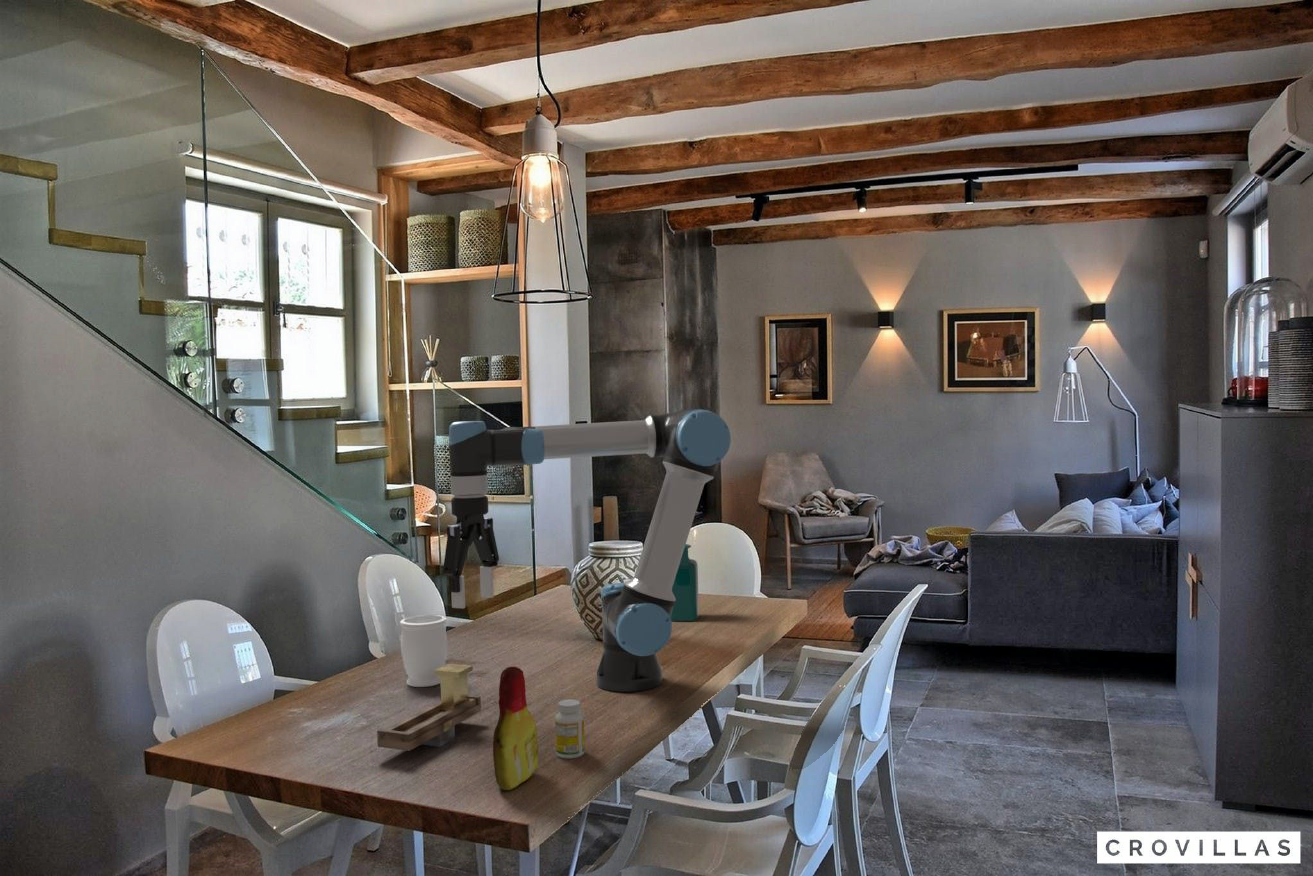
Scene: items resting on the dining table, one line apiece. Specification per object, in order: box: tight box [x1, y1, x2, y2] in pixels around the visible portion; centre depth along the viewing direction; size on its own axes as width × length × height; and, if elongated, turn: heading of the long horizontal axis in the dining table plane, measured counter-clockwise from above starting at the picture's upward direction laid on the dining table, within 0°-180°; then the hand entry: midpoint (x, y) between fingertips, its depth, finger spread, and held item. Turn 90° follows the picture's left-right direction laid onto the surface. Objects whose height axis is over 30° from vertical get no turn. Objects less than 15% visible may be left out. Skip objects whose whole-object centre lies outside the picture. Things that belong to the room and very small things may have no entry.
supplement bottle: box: [554, 698, 586, 759], centre depth 184 cm, size 5×5×10 cm
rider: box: [435, 663, 474, 711], centre depth 200 cm, size 5×6×8 cm
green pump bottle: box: [670, 543, 700, 622], centre depth 292 cm, size 10×8×22 cm
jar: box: [399, 614, 448, 688], centre depth 233 cm, size 11×10×15 cm
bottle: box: [492, 666, 539, 791], centre depth 171 cm, size 12×6×20 cm, turn 163°
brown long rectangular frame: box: [376, 694, 482, 752], centre depth 193 cm, size 24×8×6 cm, turn 158°
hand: (473, 602), depth 207 cm, fingers open, 10 cm apart
